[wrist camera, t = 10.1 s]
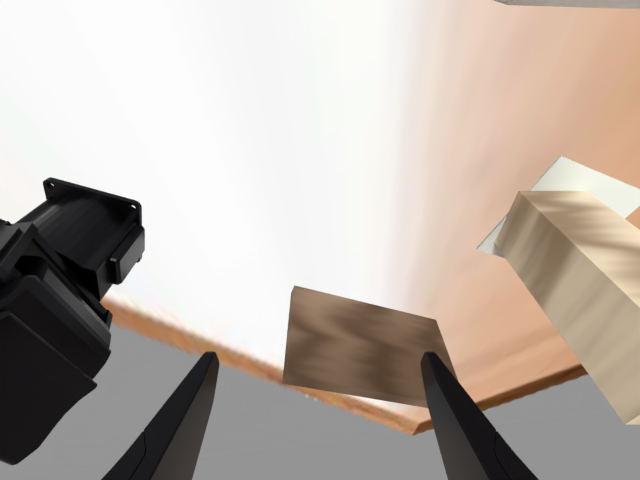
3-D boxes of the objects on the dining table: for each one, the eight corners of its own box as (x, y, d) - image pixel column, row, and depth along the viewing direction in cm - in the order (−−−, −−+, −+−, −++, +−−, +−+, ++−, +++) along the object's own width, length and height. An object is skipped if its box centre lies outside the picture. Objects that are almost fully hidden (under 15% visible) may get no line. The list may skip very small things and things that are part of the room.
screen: (290, 293, 30) (282, 383, 23) (294, 285, 29) (286, 376, 22) (429, 325, 33) (459, 413, 26) (436, 319, 33) (468, 407, 26)
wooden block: (494, 243, 26) (624, 424, 15) (518, 190, 22) (707, 372, 12) (552, 243, 26) (726, 424, 15) (585, 190, 22) (837, 372, 12)
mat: (476, 248, 26) (476, 249, 26) (559, 155, 21) (561, 156, 21) (555, 273, 28) (557, 274, 28) (650, 193, 23) (652, 195, 23)
